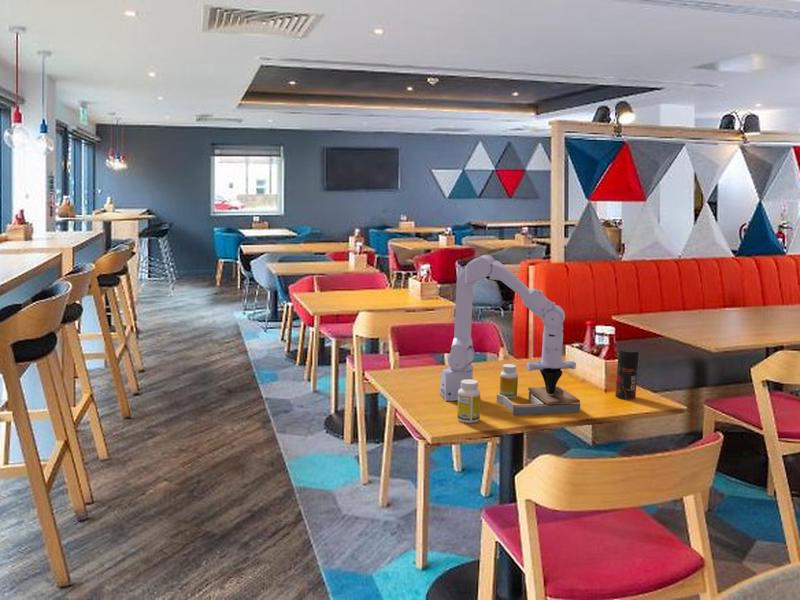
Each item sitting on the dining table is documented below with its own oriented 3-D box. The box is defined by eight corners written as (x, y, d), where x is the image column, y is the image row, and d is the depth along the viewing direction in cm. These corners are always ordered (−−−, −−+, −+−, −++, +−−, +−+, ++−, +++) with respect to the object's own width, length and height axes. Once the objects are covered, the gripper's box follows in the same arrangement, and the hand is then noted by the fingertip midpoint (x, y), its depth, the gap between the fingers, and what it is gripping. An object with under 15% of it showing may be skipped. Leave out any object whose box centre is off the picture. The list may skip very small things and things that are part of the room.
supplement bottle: (516, 399, 218) (518, 368, 217) (498, 398, 219) (500, 367, 218) (517, 394, 224) (518, 364, 222) (500, 393, 225) (501, 362, 223)
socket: (511, 416, 203) (512, 407, 202) (494, 400, 216) (495, 392, 216) (579, 412, 207) (580, 404, 207) (559, 397, 221) (559, 389, 220)
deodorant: (621, 393, 227) (624, 346, 225) (638, 397, 223) (642, 350, 220) (611, 396, 223) (615, 349, 220) (629, 401, 219) (633, 353, 216)
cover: (547, 404, 204) (547, 393, 204) (528, 390, 218) (528, 379, 218) (579, 402, 207) (580, 392, 206) (558, 388, 220) (559, 378, 220)
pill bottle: (476, 416, 202) (478, 378, 200) (481, 423, 196) (483, 384, 194) (455, 416, 201) (456, 378, 200) (459, 423, 195) (460, 384, 194)
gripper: (534, 352, 203) (531, 398, 205) (581, 350, 206) (578, 396, 208) (524, 346, 210) (522, 391, 212) (570, 344, 213) (568, 389, 215)
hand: (549, 393), depth 210 cm, fingers closed
